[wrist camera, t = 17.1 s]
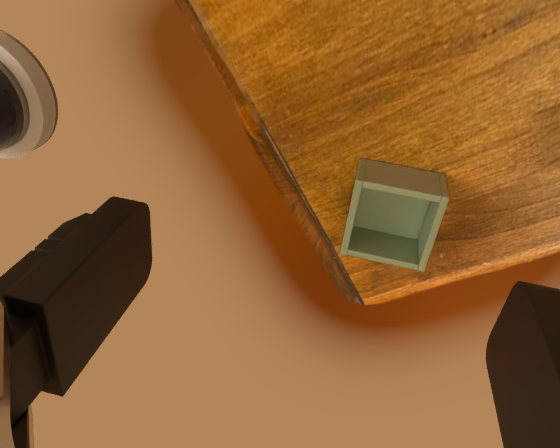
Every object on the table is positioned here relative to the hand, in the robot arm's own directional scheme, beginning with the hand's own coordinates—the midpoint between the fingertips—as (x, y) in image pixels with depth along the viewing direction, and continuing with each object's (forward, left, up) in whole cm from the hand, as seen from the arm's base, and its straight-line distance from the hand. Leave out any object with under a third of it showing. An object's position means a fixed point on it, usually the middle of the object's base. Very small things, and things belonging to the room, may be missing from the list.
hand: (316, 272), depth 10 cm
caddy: (+4, -13, -30) cm, 33 cm away
